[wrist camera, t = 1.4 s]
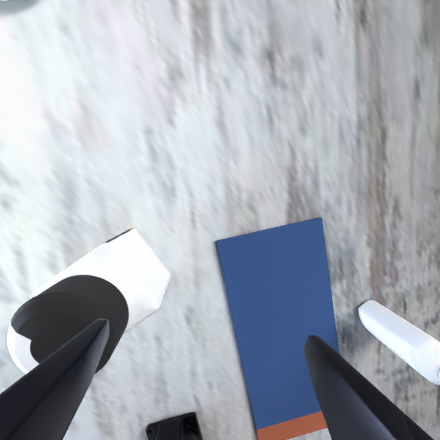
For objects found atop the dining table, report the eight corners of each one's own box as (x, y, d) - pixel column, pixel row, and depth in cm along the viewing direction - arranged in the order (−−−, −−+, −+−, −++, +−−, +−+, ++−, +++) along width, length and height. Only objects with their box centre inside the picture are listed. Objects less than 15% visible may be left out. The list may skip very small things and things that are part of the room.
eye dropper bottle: (358, 338, 28) (475, 448, 16) (356, 300, 27) (479, 386, 15) (387, 332, 28) (525, 435, 16) (387, 294, 27) (531, 374, 15)
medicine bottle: (134, 226, 23) (62, 263, 11) (172, 275, 24) (144, 356, 12) (81, 262, 23) (-48, 339, 11) (122, 309, 24) (46, 424, 12)
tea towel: (345, 418, 29) (347, 421, 29) (259, 444, 28) (260, 447, 28) (320, 217, 25) (321, 217, 24) (215, 240, 24) (215, 241, 23)
